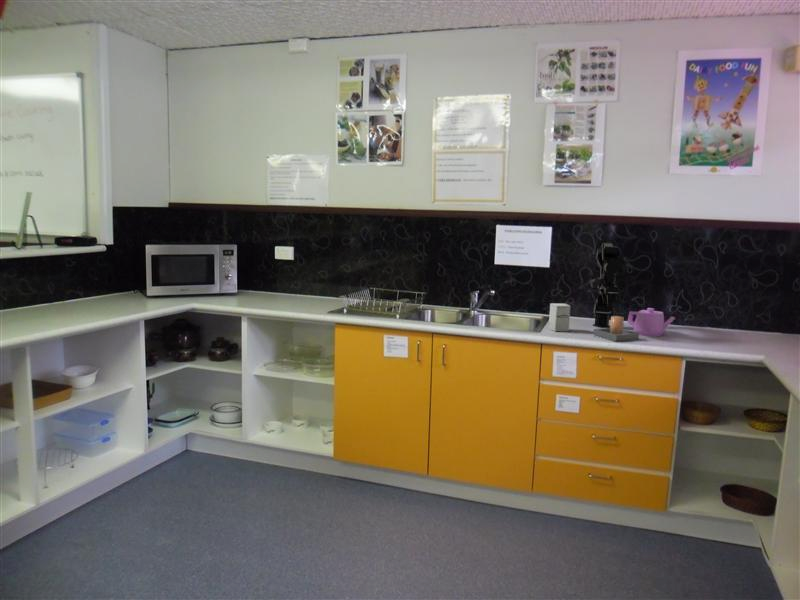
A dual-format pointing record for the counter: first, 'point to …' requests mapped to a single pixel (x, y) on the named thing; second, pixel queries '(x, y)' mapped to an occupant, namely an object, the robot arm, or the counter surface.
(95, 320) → the counter surface
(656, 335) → the teakettle
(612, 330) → the orange-brown rounded cylinder
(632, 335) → the tray
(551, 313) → the grey box
